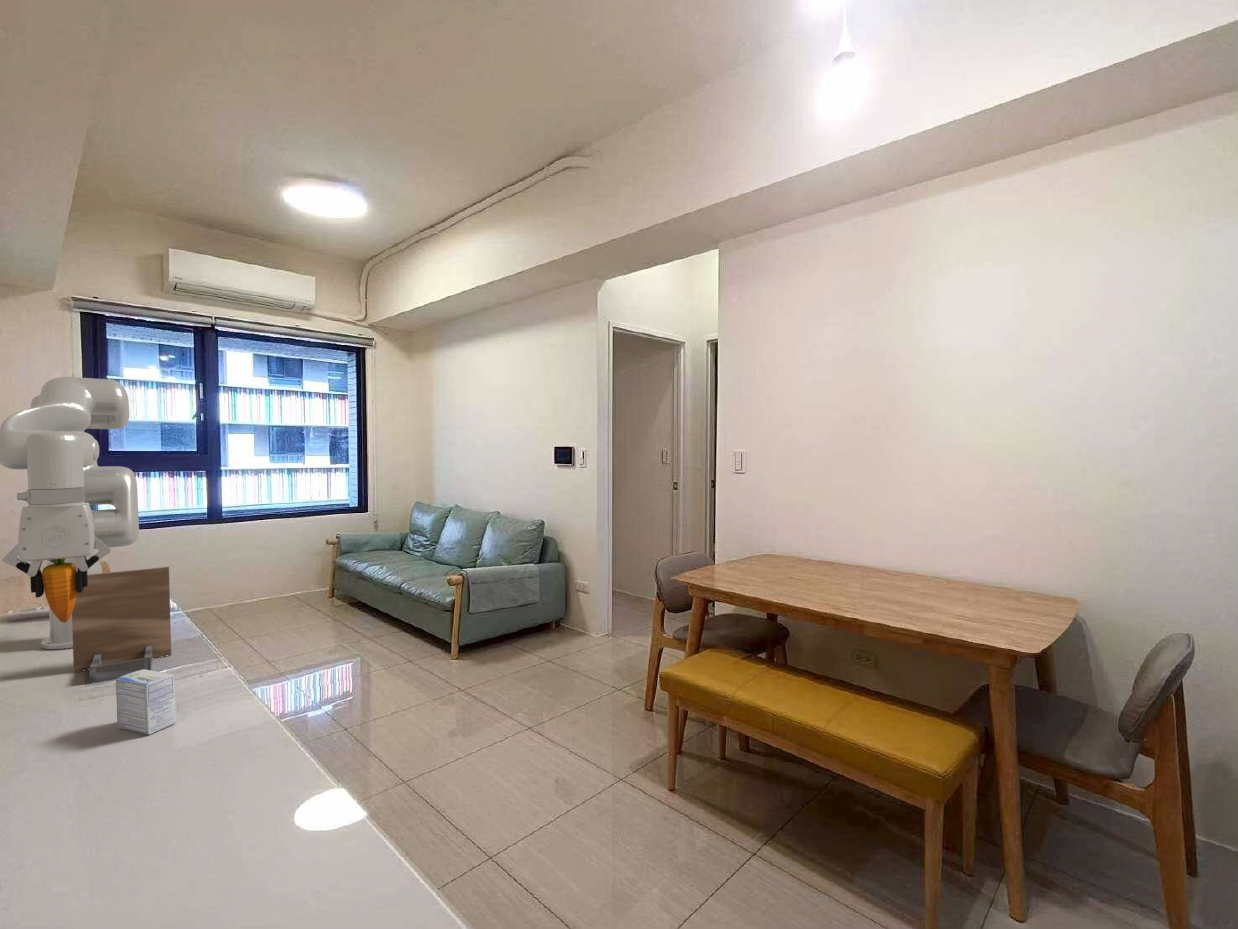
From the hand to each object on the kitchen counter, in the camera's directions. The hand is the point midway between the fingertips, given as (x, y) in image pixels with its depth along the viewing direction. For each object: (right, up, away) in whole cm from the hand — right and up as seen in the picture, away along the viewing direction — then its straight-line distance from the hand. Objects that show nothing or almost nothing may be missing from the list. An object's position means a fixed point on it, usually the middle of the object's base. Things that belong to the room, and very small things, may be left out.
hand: (60, 592), depth 108 cm
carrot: (0, -6, +1) cm, 6 cm away
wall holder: (+1, -19, +12) cm, 23 cm away
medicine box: (+26, -20, -12) cm, 35 cm away
